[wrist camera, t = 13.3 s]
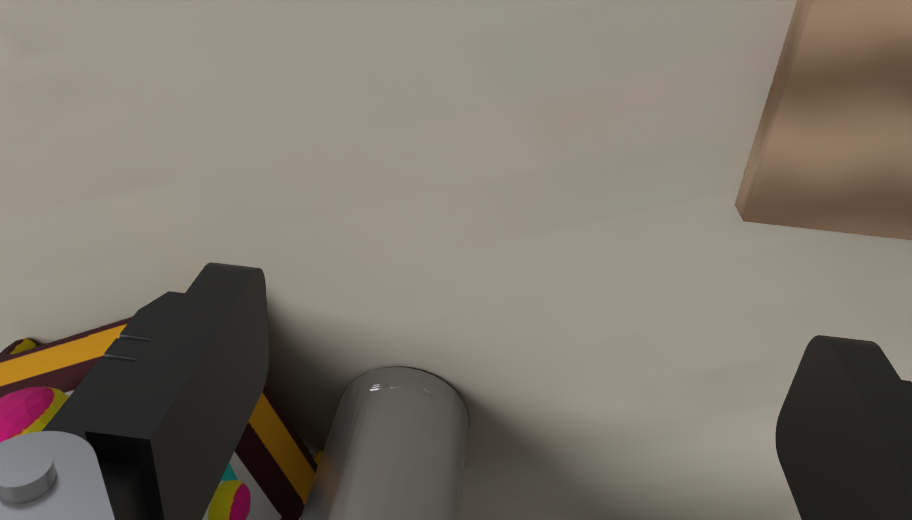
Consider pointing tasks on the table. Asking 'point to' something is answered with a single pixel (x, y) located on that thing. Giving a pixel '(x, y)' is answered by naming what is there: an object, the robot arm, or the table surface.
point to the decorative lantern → (251, 466)
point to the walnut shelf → (837, 123)
